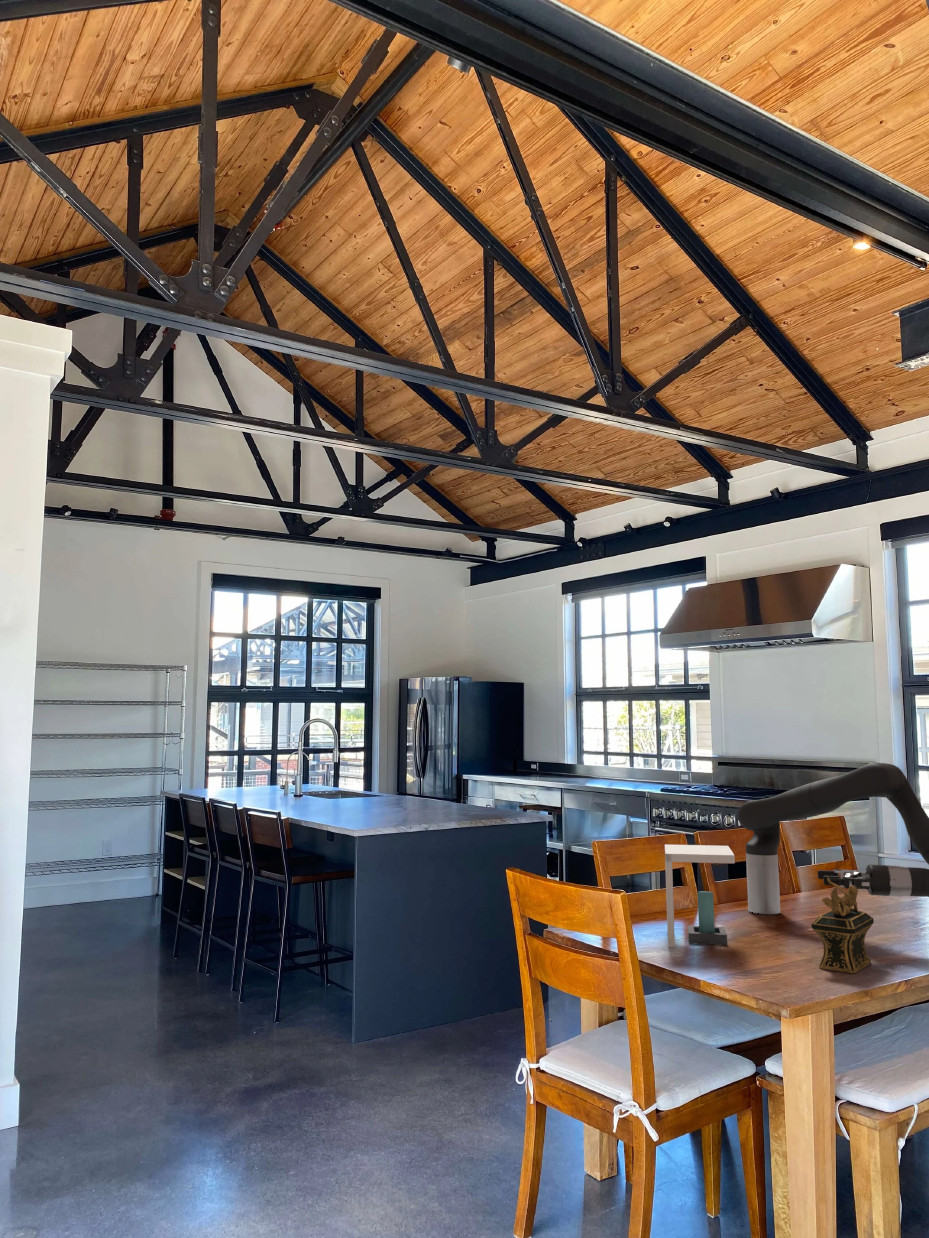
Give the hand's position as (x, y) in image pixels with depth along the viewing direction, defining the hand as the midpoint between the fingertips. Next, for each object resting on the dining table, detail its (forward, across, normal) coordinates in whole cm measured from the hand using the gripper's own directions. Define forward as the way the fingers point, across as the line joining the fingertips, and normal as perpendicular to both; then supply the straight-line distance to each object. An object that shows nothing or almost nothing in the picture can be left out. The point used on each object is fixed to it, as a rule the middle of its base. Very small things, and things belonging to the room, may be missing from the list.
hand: (820, 877), depth 227 cm
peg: (+28, 0, +17) cm, 33 cm away
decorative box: (0, +22, +17) cm, 28 cm away
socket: (+29, 0, +17) cm, 33 cm away
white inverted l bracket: (+30, +1, +17) cm, 35 cm away
